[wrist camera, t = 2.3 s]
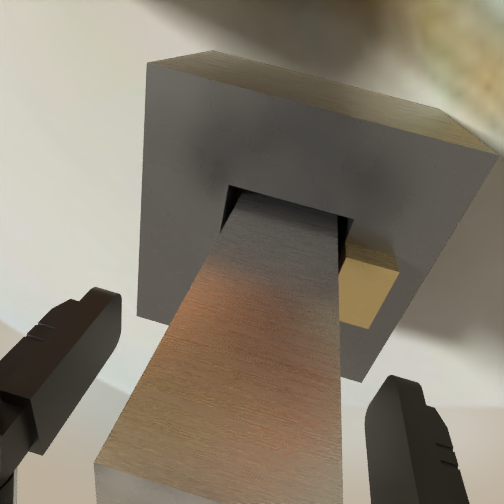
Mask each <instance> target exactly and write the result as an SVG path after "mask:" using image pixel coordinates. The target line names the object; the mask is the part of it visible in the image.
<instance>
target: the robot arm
mask: <svg viewBox="0 0 504 504" xmlns="http://www.w3.org/2000/svg"><path fill="white" fill-rule="evenodd" d="M121 308H122V298H121V295H120V294H118V293H114V292H111V291H108V290H104V289H101V288H97V287H94V288H92V289H91V290H89V292H88V293H87V294H86V295H85V296H84V297H83V298H82V299H81V300H80V301H76V300H72V299H70V300H68V301H66V302H64V303H62V304H60V305H58V306H56V307H54V308H52V309H51V310H50V311H49V312H48V313H47V314H46V315H45V316H44V317H43V318H42V319H41V320H40V321H39V322H38V325H35V326H34V327H33V328H32V329H31V330H30V331H29V332H28V333H27V336H26V337H23V338H22V339H21V340H20V341H19V342H18V343H17V344H16V345H15V346H14V347H13V348H12V349H11V350H10V351H9V352H8V353H7V354H6V355H5V356H4V357H3V358H2V359H1V360H0V504H17V466H18V465H19V463H20V462H21V461H22V459H23V458H24V456H25V455H26V454H27V452H28V451H30V452H33V453H36V454H39V455H43V454H44V453H45V452H46V450H47V449H48V447H49V446H50V444H51V443H52V441H53V440H54V438H55V437H56V435H57V434H58V432H59V431H60V429H61V428H62V426H63V425H64V423H65V422H66V421H67V419H68V418H69V416H70V414H71V413H72V412H73V410H74V409H75V407H76V406H77V404H78V403H79V401H80V400H81V398H82V396H83V395H84V394H85V392H86V391H87V389H88V388H89V386H90V385H91V384H92V382H93V380H94V379H95V378H96V376H97V375H98V373H99V372H100V370H101V369H102V367H103V366H104V364H105V363H106V361H107V360H108V358H109V357H110V355H111V354H112V352H113V351H114V349H115V348H116V346H117V343H118V341H119V338H120V334H121ZM365 436H366V448H367V459H368V471H369V482H370V495H371V504H469V500H468V497H467V493H466V490H465V487H464V483H463V480H462V476H461V473H460V470H458V463H457V459H456V456H455V453H454V452H453V445H452V442H451V439H450V435H449V432H448V428H447V426H446V425H445V423H444V422H443V420H442V419H441V417H440V415H439V414H438V412H437V411H436V409H435V408H434V407H430V406H427V405H426V403H425V399H424V395H423V391H422V387H421V385H420V384H419V383H417V382H414V381H411V380H407V379H404V378H400V377H397V376H394V375H390V376H388V377H387V379H386V380H385V382H384V383H383V385H382V386H381V388H380V389H379V391H378V392H377V394H376V395H375V397H374V398H373V400H372V401H371V403H370V404H369V406H368V409H367V412H366V416H365Z"/></svg>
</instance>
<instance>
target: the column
mask: <svg viewBox="0 0 504 504" xmlns="http://www.w3.org/2000/svg"><path fill="white" fill-rule="evenodd" d="M341 435H342V432H341V381H340V331H339V282H338V233H337V214H333V213H329V212H326V211H322V210H318V209H315V208H311V207H308V206H304V205H300V204H297V203H293V202H290V201H286V200H282V199H279V198H275V197H271V196H268V195H264V194H261V193H257V192H253V191H250V190H246V189H244V191H243V193H242V194H241V196H240V198H239V200H238V202H237V204H236V205H235V207H234V209H233V211H232V213H231V214H230V216H229V218H228V220H227V222H226V223H225V225H224V227H223V229H222V231H221V233H220V234H219V236H218V238H217V240H216V242H215V243H214V245H213V247H212V249H211V251H210V253H209V254H208V256H207V258H206V260H205V262H204V263H203V265H202V267H201V269H200V271H199V273H198V274H197V276H196V278H195V280H194V282H193V283H192V285H191V287H190V289H189V291H188V292H187V294H186V296H185V298H184V300H183V302H182V303H181V305H180V307H179V309H178V311H177V312H176V314H175V316H174V318H173V320H172V322H171V323H170V325H169V327H168V329H167V331H166V332H165V334H164V336H163V338H162V340H161V342H160V343H159V345H158V347H157V349H156V351H155V352H154V354H153V356H152V358H151V360H150V361H149V363H148V365H147V367H146V369H145V371H144V372H143V374H142V376H141V378H140V380H139V381H138V383H137V385H136V387H135V389H134V391H133V392H132V394H131V396H130V398H129V400H128V401H127V403H126V405H125V407H124V409H123V411H122V412H121V414H120V416H119V418H118V420H117V421H116V423H115V425H114V427H113V429H112V431H111V433H110V434H109V436H108V438H107V440H106V441H105V443H104V445H103V447H102V449H101V450H100V452H99V454H98V456H97V458H96V460H95V461H94V471H95V485H96V498H97V504H343V482H342V481H343V480H342V436H341Z"/></svg>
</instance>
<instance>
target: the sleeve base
mask: <svg viewBox="0 0 504 504" xmlns="http://www.w3.org/2000/svg"><path fill="white" fill-rule="evenodd" d="M498 157H499V155H498V154H497V153H496V152H494V151H493V150H492V149H490V148H489V147H488V146H486V145H485V144H484V143H483V142H481V141H480V140H479V139H477V138H476V137H475V136H473V135H472V134H471V133H470V132H468V131H467V130H466V129H464V128H463V127H462V126H460V125H459V124H458V123H457V122H455V121H454V120H453V119H451V118H450V117H449V116H447V115H446V114H445V113H444V112H442V111H441V110H440V109H437V108H434V107H430V106H426V105H422V104H418V103H414V102H410V101H407V100H403V99H399V98H395V97H391V96H387V95H383V94H380V93H376V92H372V91H368V90H364V89H360V88H356V87H352V86H349V85H345V84H341V83H337V82H333V81H329V80H325V79H322V78H318V77H314V76H310V75H306V74H302V73H298V72H295V71H291V70H287V69H283V68H279V67H275V66H271V65H268V64H264V63H260V62H256V61H252V60H248V59H244V58H241V57H237V56H233V55H229V54H225V53H221V52H217V51H213V50H212V51H207V52H201V53H196V54H191V55H185V56H180V57H175V58H169V59H164V60H159V61H153V62H148V63H147V72H146V97H145V122H144V147H143V172H142V197H141V222H140V247H139V272H138V297H137V316H139V317H142V318H146V319H149V320H152V321H156V322H159V323H162V324H166V325H170V323H171V322H172V320H173V318H174V316H175V314H176V312H177V311H178V309H179V307H180V305H181V303H182V302H183V300H184V298H185V296H186V294H187V292H188V291H189V289H190V287H191V285H192V283H193V282H194V280H195V278H196V276H197V274H198V273H199V271H200V269H201V267H202V265H203V263H204V262H205V260H206V258H207V256H208V254H209V253H210V251H211V249H212V247H213V245H214V243H215V242H216V240H217V238H218V236H219V234H220V233H221V231H222V229H223V227H224V225H225V223H226V222H227V220H228V218H229V216H230V214H231V213H232V211H233V209H234V207H235V205H236V204H237V202H238V200H239V198H240V196H241V194H242V193H243V191H244V189H246V190H250V191H253V192H257V193H261V194H264V195H268V196H271V197H275V198H279V199H282V200H286V201H290V202H293V203H297V204H300V205H304V206H308V207H311V208H315V209H318V210H322V211H326V212H329V213H333V214H337V233H338V282H339V331H340V377H344V378H347V379H350V380H354V381H357V382H360V383H362V381H363V379H364V378H365V376H366V374H367V373H368V371H369V369H370V368H371V366H372V365H373V363H374V361H375V360H376V358H377V356H378V355H379V353H380V351H381V350H382V348H383V346H384V345H385V343H386V341H387V340H388V338H389V336H390V335H391V333H392V332H393V330H394V328H395V327H396V325H397V323H398V322H399V320H400V318H401V317H402V315H403V313H404V312H405V310H406V308H407V307H408V305H409V304H410V302H411V300H412V299H413V297H414V295H415V294H416V292H417V290H418V289H419V287H420V285H421V284H422V282H423V280H424V279H425V277H426V275H427V274H428V272H429V271H430V269H431V267H432V266H433V264H434V262H435V261H436V259H437V257H438V256H439V254H440V252H441V251H442V249H443V247H444V246H445V244H446V243H447V241H448V239H449V238H450V236H451V234H452V233H453V231H454V229H455V228H456V226H457V224H458V223H459V221H460V219H461V218H462V216H463V214H464V213H465V211H466V210H467V208H468V206H469V205H470V203H471V201H472V200H473V198H474V196H475V195H476V193H477V191H478V190H479V188H480V186H481V185H482V183H483V182H484V180H485V178H486V177H487V175H488V173H489V172H490V170H491V168H492V167H493V165H494V163H495V162H496V160H497V158H498Z"/></svg>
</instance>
